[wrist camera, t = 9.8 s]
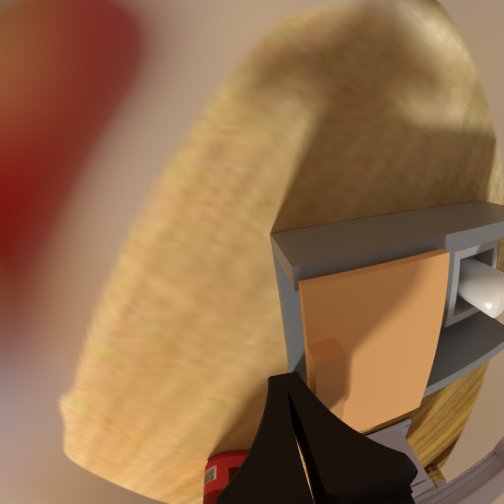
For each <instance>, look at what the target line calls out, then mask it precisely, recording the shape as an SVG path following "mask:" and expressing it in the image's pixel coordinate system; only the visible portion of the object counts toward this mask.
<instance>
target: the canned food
mask: <svg viewBox="0 0 504 504" xmlns="http://www.w3.org/2000/svg"><path fill="white" fill-rule="evenodd" d="M248 452H249V451H229V452H224V453H221V454H218V455H216V456H214V457H212V458H211V459H210V460H209V461H208V463H207V465H206V467H205V478H204V496H203V504H214V503H215V500H216V498H217V496H218V495H219V494H220V492H221V491H222V490H223V489H224V488H225V486H226V485H227V484H228V483H229V482H230V480H231V479H232V478H233V476H234V475H235V473H236V472H237V470H238V469H239V467H240V466H241V464H242V463H243V461H244V459H245V457H246V456H247V454H248Z"/></svg>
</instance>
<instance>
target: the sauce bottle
mask: <svg viewBox="0 0 504 504" xmlns="http://www.w3.org/2000/svg"><path fill="white" fill-rule="evenodd" d="M424 470H425V472H426V473H427V475H428V477H429V478H430V479H431V480H432V482H433V484H434V486H435V487H436V485H435V483H434V481H435V480H437V479H440V480H441V479H444V480H445V478H444V477H443V475H442V473H441V471H440V470H439V469H438V467H437V466H436V465H433V466H430V467H429V468H426V469H424ZM445 481H446V480H445ZM436 489H437V487H436Z"/></svg>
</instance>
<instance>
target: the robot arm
mask: <svg viewBox="0 0 504 504" xmlns="http://www.w3.org/2000/svg"><path fill="white" fill-rule="evenodd" d="M410 424H411V419H407V420H404V421H402V422H400V423H398V424H395V425H393V426H390V427H388V428H386V429H383V430H380V431H378V432H375V433H372V434H370V435H367V436H365V435H363V434H361V433H359V432H358V431H356V430H355V429H353V428H352V427H350V426H349V425H347V424H346V423H345V422H343V421H342V420H341V419H339V418H338V417H337V416H336V415H335V414H333V413H332V412H331V411H330V410H329V409H328V408H327V407H326V406H325V405H324V404H323V403H322V402H321V401H320V400H319V399H318V398H317V397H316V396H315V395H314V394H313V392H312V391H311V390H310V389H309V388H308V386H307V385H306V384H305V382H304V381H303V379H302V378H301V376H300V375H299V373H298V372H291V373H286V374H281V375H276V376H271V377H269V378H268V394H267V400H266V405H265V410H264V414H263V417H262V420H261V423H260V426H259V429H258V432H257V434H256V437H255V439H254V441H253V444H252V446H251V448H250V450H249V452H248V454H247V456H246V457H245V459H244V461H243V463H242V464H241V466H240V467H239V469H238V470H237V472H236V473H235V475H234V476H233V478H232V479H231V480H230V482H229V483H228V484H227V485H226V486H225V488H224V489H223V490H222V491H221V492H220V494H219V495H218V496H217V498H216V500H215V503H214V504H492V503H493V502H494V501H495V500H496V499H497V498H498V497H500V496H501V495H502V494H503V493H504V437H503V438H502V439H501V440H500V441H499V442H498V443H497V445H496V446H495V447H494V449H493V450H492V451H491V452H490V453H489V454H487V455H486V456H485V457H484V458H482V459H481V460H480V461H478V462H477V463H476V464H474V465H473V466H472V467H470V468H469V469H467V470H466V471H465V472H463V473H462V474H460V475H459V476H457V477H456V478H454V479H453V480H451V481H450V482H448V483H447V482H446V481H445V480H444V479H441V480H440V479H437V480H435V481H434V483H435V485H436V487H437V489H436V487H435V486H434V484H433V482H432V480H431V479H430V478H429V477H428V475H427V473H426V472H425V470H424V468H423V466H422V465H421V463H420V461H419V460H418V458H417V456H416V454H415V453H414V451H413V449H412V448H411V446H410V444H409V443H408V441H407V439H406V437H405V436H406V434H407V431H408V429H409V427H410ZM293 430H294V431H293ZM294 433H295V435H294ZM295 436H296V438H295ZM296 439H297V442H298V445H299V448H300V450H301V453H302V456H303V459H304V462H305V466H306V470H307V474H308V478H309V483H310V487H311V491H310V488H309V485H308V481H307V478H306V475H305V471H304V468H303V464H302V461H301V457H300V453H299V450H298V446H297V442H296ZM311 492H312V495H311ZM312 496H313V498H312ZM313 501H314V502H313Z"/></svg>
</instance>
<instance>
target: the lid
mask: <svg viewBox="0 0 504 504" xmlns="http://www.w3.org/2000/svg"><path fill="white" fill-rule="evenodd" d="M449 258H450V252H448V251H446V250H444V249H439V250H435V251H431V252H427V253H423V254H419V255H415V256H411V257H407V258H403V259H399V260H395V261H390V262H386V263H382V264H378V265H373V266H369V267H364V268H360V269H355V270H351V271H346V272H341V273H337V274H332V275H327V276H322V277H318V278H313V279H308V280H303V281H298V285H299V294H300V304H301V313H302V324H303V334H304V345H305V357H306V370H307V384H308V388H309V389H310V390H311V391H312V392H313V394H314V395H315V396H316V397H317V398H318V399H319V400H320V401H321V402H322V403H323V404H324V405H325V406H326V407H327V408H328V409H329V410H330V411H331V412H332V413H333V414H335V415H336V416H337V417H338V418H339V419H341V420H342V421H343V422H345V423H346V424H347V425H349V426H350V427H352V428H353V429H355V430H356V431H358V432H359V431H362V430H365V429H368V428H370V427H373V426H376V425H379V424H381V423H384V422H386V421H389V420H391V419H394V418H396V417H398V416H401V415H403V414H405V413H407V412H410V411H412V410H414V409H416V408H418V407H419V406H420V403H421V401H422V398H423V395H424V392H425V388H426V385H427V382H428V379H429V375H430V372H431V368H432V364H433V360H434V356H435V352H436V348H437V344H438V339H439V334H440V329H441V324H442V318H443V312H444V306H445V299H446V291H447V282H448V271H449Z"/></svg>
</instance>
